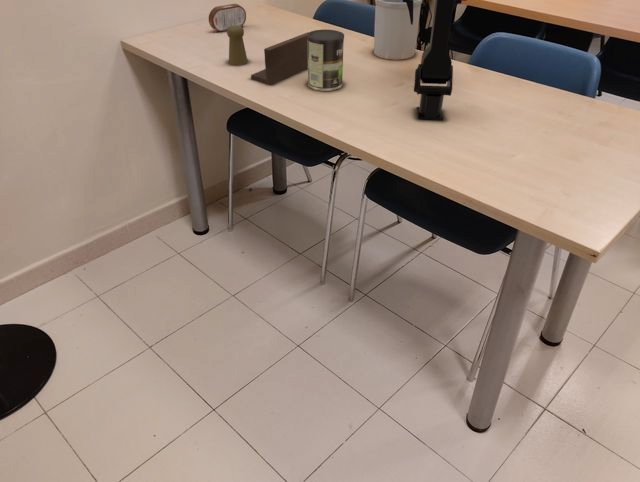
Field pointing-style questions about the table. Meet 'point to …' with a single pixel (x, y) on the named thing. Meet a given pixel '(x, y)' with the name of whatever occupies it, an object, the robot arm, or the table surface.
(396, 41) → the utensil holder
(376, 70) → the table surface
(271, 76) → the walnut bookend
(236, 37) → the olive green pawn
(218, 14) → the tin
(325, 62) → the coffee can
